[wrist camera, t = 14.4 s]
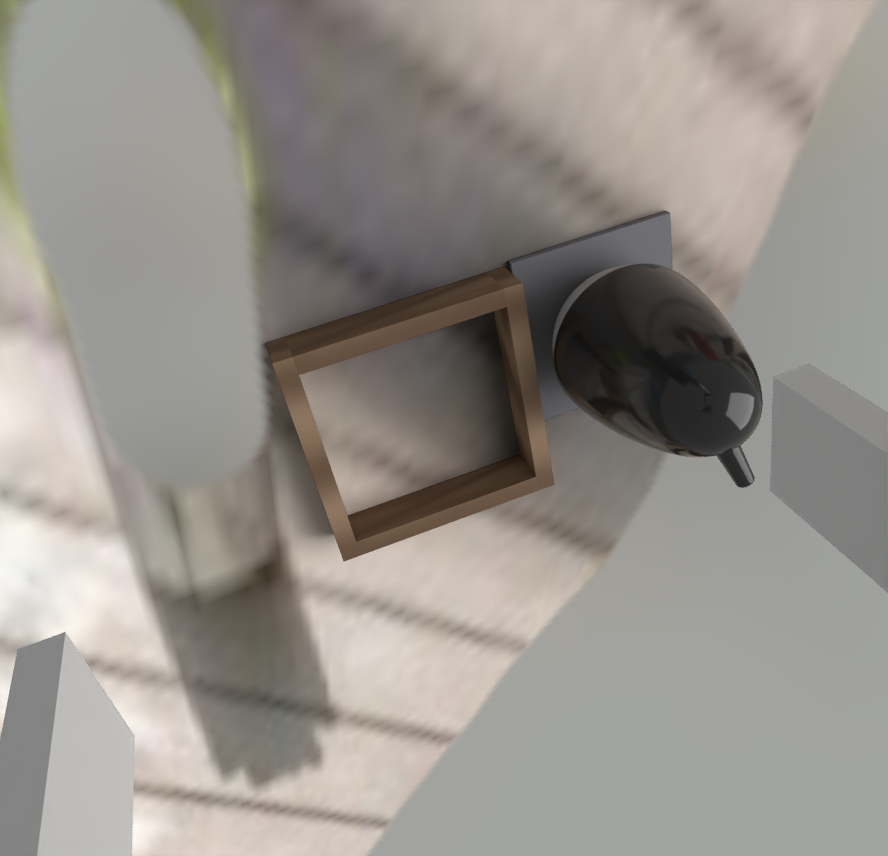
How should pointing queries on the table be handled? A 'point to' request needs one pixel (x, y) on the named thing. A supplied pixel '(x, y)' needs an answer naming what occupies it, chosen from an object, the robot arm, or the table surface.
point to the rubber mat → (568, 267)
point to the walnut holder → (395, 326)
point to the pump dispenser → (659, 365)
